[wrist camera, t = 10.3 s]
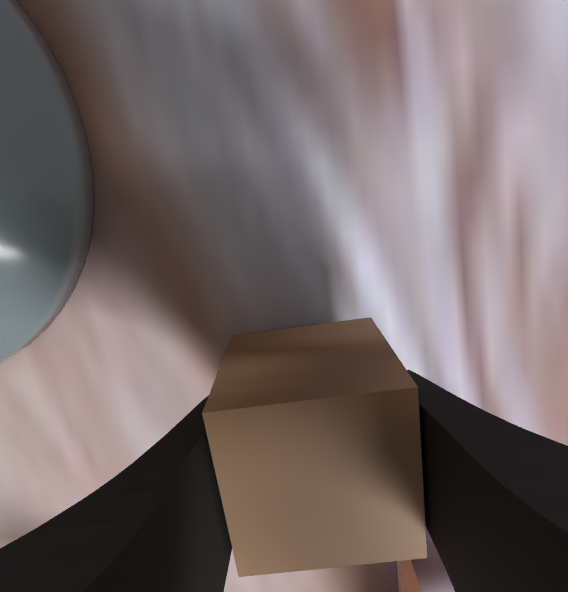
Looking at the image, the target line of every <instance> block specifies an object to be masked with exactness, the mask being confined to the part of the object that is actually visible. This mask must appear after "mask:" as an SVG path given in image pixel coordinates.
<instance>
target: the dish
mask: <svg viewBox="0 0 568 592" xmlns="http://www.w3.org/2000/svg"><path fill="white" fill-rule="evenodd" d="M93 214H94V187H93V172H92V165H91V159H90V153H89V146H88V141H87V138H86V134H85V131H84V127H83V124H82V120H81V116H80V113H79V109H78V107H77V104H76V102H75V99H74V97H73V95H72V92H71V90H70V87H69V85H68V82H67V80H66V77H65V75H64V73H63V71H62V69H61V67H60V66H59V64H58V62H57V60H56V58H55V56H54V55H53V53H52V51H51V49H50V47H49V45H48V43H47V42H46V40H45V39H44V37H43V36H42V34H41V33H40V31H39V30H38V28H37V27H36V25H35V24H34V23H33V21H32V20H31V18H30V17H29V15H28V14H27V12H26V11H25V9H24V8H23V7H22V6H21V5H20V3H19V2H18V1H17V0H0V362H2V361H4V360H6V359H7V358H9V357H10V356H12V355H14V354H15V353H17V352H18V351H20V350H21V349H23V348H24V347H26V346H27V345H29V344H30V343H31V342H32V341H33V340H35V339H36V338H37V337H38V336H39V335H40V334H41V333H42V332H43V331H45V330H46V329H47V328H48V327H49V325H50V324H51V323H52V322H53V320H54V319H55V318H56V317H57V315H58V314H59V313H60V312H61V311H62V309H63V308H64V306H65V304H66V302H67V301H68V299H69V297H70V296H71V294H72V292H73V290H74V289H75V287H76V284H77V282H78V279H79V277H80V274H81V272H82V269H83V267H84V264H85V261H86V256H87V252H88V248H89V244H90V240H91V234H92V224H93Z"/></svg>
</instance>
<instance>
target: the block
mask: <svg viewBox="0 0 568 592" xmlns="http://www.w3.org/2000/svg"><path fill="white" fill-rule="evenodd" d="M202 415H203V420H204V424H205V428H206V433H207V437H208V442H209V446H210V451H211V455H212V460H213V464H214V469H215V473H216V477H217V482H218V486H219V491H220V495H221V500H222V504H223V509H224V513H225V518H226V522H227V527H228V531H229V535H230V540H231V544H232V549H233V553H234V558H235V562H236V567H237V571H238V576H239V577H243V576H253V575H263V574H273V573H283V572H293V571H303V570H313V569H323V568H333V567H343V566H353V565H363V564H373V563H383V562H393V561H403V560H413V559H423V558H427V545H426V527H425V509H424V491H423V472H422V454H421V436H420V418H419V399H418V386H417V385H416V383H415V382H414V381H413V379H412V378H411V376H410V375H409V373H408V372H407V370H406V369H405V367H404V366H403V364H402V363H401V361H400V360H399V358H398V357H397V355H396V354H395V352H394V351H393V350H392V348H391V347H390V345H389V344H388V342H387V341H386V339H385V338H384V336H383V335H382V333H381V332H380V330H379V329H378V327H377V326H376V324H375V323H374V322H373V320H372V319H371V318H363V319H355V320H348V321H340V322H332V323H325V324H317V325H309V326H302V327H294V328H286V329H279V330H271V331H263V332H256V333H248V334H240V335H233V336H232V338H231V341H230V343H229V346H228V348H227V351H226V353H225V356H224V359H223V361H222V364H221V366H220V369H219V371H218V374H217V376H216V379H215V381H214V384H213V387H212V389H211V392H210V394H209V397H208V399H207V402H206V404H205V407H204V409H203V412H202Z"/></svg>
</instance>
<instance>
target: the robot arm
mask: <svg viewBox="0 0 568 592" xmlns="http://www.w3.org/2000/svg"><path fill="white" fill-rule="evenodd" d="M407 372H408V373H409V375H410V376H411V378H412V379H413V381H414V382H415V383H416V385H417V386H418V399H419V418H420V436H421V454H422V472H423V491H424V509H425V526H426V528H427V530H428V532H429V534H430V536H431V538H432V540H433V543H434V545H435V547H436V549H437V551H438V553H439V555H440V557H441V560H442V562H443V564H444V566H445V568H446V571H447V573H448V575H449V578H450V580H451V582H452V585H453V587H454V590H455V592H568V446H567V445H564V444H561V443H558V442H556V441H553V440H551V439H548V438H546V437H543V436H541V435H538V434H535V433H533V432H530V431H528V430H525V429H523V428H521V427H518V426H516V425H514V424H511V423H509V422H507V421H505V420H503V419H501V418H499V417H497V416H494V415H492V414H490V413H488V412H486V411H484V410H482V409H480V408H478V407H476V406H474V405H472V404H470V403H468V402H466V401H465V400H463V399H461V398H459V397H457V396H455V395H454V394H452V393H450V392H448V391H446V390H445V389H443V388H441V387H439V386H438V385H436V384H434V383H432V382H431V381H429V380H427V379H425V378H424V377H422V376H420V375H418V374H416V373H414V372H412V371H410V370H407ZM208 397H209V396H207V397H206V398H205V399H204V400H203V401H201V402H200V403H199V404H198V405H197V406H196V407H195V408H194V409H193V410H192V411H191V412H190V413H189V414H188V415H187V416H185V417H184V418H183V419H182V420H181V421H180V422H179V423H178V424H177V425H176V426H175V427H174V428H173V429H172V430H170V431H169V432H168V433H167V434H166V435H165V436H164V437H163V438H162V439H160V440H159V441H158V442H157V443H156V444H155V445H153V446H152V447H151V448H150V449H149V450H148V451H146V452H145V453H144V454H143V455H142V456H140V457H139V458H138V459H137V460H136V461H135V462H133V463H132V464H131V465H130V466H128V467H127V468H126V469H125V470H123V471H122V472H121V473H119V474H118V475H117V476H115V477H114V478H113V479H111V480H110V481H108V482H107V483H106V484H104V485H103V486H101V487H100V488H99V489H97V490H96V491H94V492H93V493H91V494H90V495H88V496H87V497H86V498H84V499H83V500H81V501H79V502H78V503H76V504H75V505H73V506H71V507H70V508H68V509H66V510H65V511H63V512H62V513H60V514H58V515H57V516H55V517H54V518H52V519H50V520H49V521H47V522H46V523H44V524H42V525H41V526H39V527H38V528H36V529H34V530H32V531H31V532H29V533H27V534H25V535H24V536H22V537H20V538H18V539H17V540H15V541H13V542H11V543H9V544H8V545H6V546H4V547H2V548H0V592H224V586H225V581H226V576H227V571H228V566H229V561H230V556H231V551H232V544H231V540H230V535H229V531H228V527H227V522H226V518H225V513H224V509H223V504H222V500H221V495H220V491H219V486H218V482H217V477H216V473H215V469H214V464H213V460H212V455H211V451H210V446H209V442H208V437H207V433H206V428H205V424H204V420H203V415H202V412H203V409H204V407H205V404H206V402H207V399H208Z"/></svg>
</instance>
